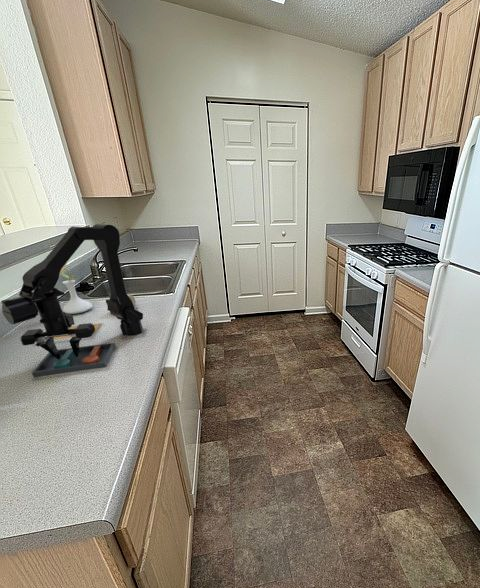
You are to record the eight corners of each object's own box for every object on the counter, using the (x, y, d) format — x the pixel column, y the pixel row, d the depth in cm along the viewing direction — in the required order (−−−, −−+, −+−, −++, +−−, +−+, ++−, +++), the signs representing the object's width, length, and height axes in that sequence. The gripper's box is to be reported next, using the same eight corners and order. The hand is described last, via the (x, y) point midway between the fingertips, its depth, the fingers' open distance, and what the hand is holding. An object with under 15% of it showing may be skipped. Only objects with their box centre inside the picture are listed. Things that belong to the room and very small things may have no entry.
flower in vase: (61, 311, 150) (41, 255, 138) (90, 305, 156) (72, 251, 145) (67, 319, 141) (46, 260, 130) (97, 312, 148) (79, 255, 136)
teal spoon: (80, 353, 111) (78, 348, 110) (69, 369, 102) (67, 364, 101) (65, 355, 110) (63, 350, 109) (53, 372, 101) (50, 366, 100)
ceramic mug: (132, 313, 146) (128, 296, 142) (113, 314, 145) (108, 297, 141) (139, 305, 155) (136, 289, 152) (121, 306, 154) (117, 290, 151)
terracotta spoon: (106, 350, 113) (104, 344, 112) (98, 365, 103) (96, 360, 103) (92, 351, 112) (90, 346, 111) (82, 368, 102) (80, 362, 101)
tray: (116, 348, 116) (114, 342, 115) (106, 369, 103) (104, 362, 102) (52, 356, 111) (50, 350, 110) (34, 379, 99) (31, 372, 98)
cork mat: (100, 324, 135) (100, 323, 135) (91, 338, 123) (91, 337, 123) (50, 329, 131) (50, 329, 131) (36, 345, 119) (35, 344, 119)
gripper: (92, 300, 109) (106, 342, 116) (27, 307, 105) (45, 350, 112) (82, 312, 100) (97, 357, 107) (10, 320, 95) (31, 366, 102)
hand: (68, 357), depth 107 cm, fingers open, 5 cm apart
